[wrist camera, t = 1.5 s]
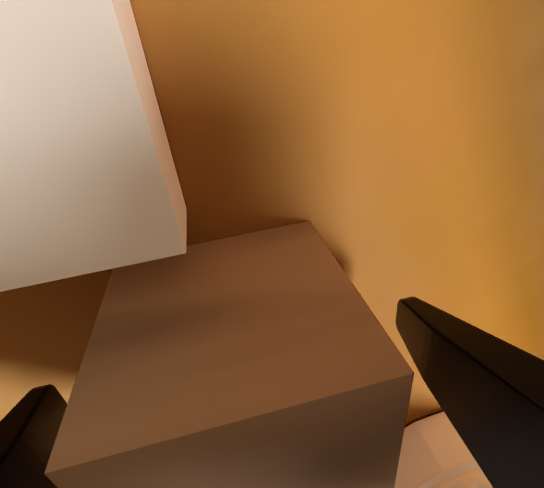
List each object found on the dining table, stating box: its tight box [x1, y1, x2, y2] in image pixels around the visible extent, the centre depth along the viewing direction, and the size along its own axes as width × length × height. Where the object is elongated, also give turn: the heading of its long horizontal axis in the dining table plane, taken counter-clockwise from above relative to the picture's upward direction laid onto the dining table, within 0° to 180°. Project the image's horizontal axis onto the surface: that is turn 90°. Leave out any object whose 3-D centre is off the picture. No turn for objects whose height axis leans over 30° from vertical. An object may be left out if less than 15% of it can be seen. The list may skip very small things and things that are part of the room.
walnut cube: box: [44, 221, 414, 488], centre depth 8 cm, size 5×5×5 cm
